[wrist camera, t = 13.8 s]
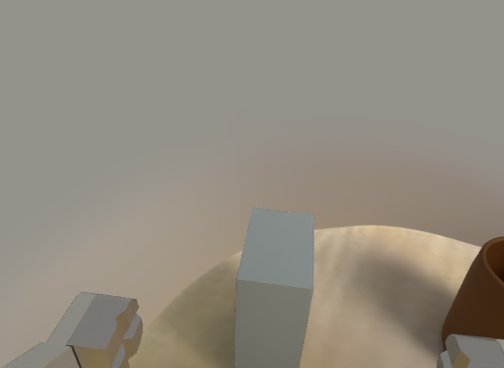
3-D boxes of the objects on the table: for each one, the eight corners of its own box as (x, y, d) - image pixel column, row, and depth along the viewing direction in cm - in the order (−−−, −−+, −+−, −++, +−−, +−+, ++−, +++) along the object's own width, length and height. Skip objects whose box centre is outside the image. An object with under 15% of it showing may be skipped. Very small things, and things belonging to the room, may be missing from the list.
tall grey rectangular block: (297, 315, 34) (313, 214, 28) (293, 394, 29) (313, 289, 23) (247, 308, 35) (252, 207, 29) (233, 385, 29) (236, 279, 23)
